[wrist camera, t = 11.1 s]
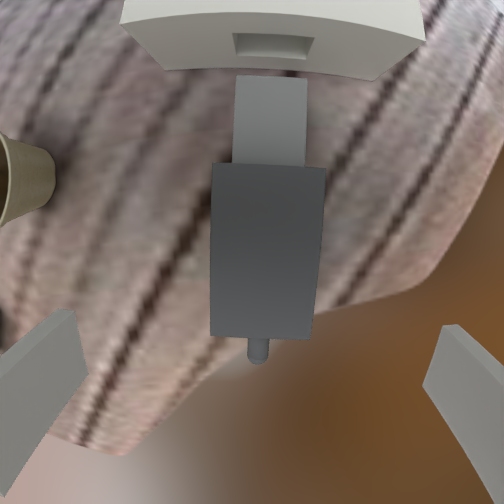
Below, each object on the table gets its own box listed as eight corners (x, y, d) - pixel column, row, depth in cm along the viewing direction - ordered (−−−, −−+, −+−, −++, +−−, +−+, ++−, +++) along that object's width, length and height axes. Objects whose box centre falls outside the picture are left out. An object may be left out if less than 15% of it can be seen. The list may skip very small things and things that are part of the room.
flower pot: (19, 125, 24) (-37, 119, 16) (81, 141, 24) (22, 133, 16) (2, 208, 26) (-53, 221, 18) (59, 234, 27) (2, 256, 18)
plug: (231, 97, 23) (218, 61, 15) (306, 101, 23) (328, 67, 15) (224, 335, 28) (211, 393, 19) (290, 338, 28) (301, 397, 19)
